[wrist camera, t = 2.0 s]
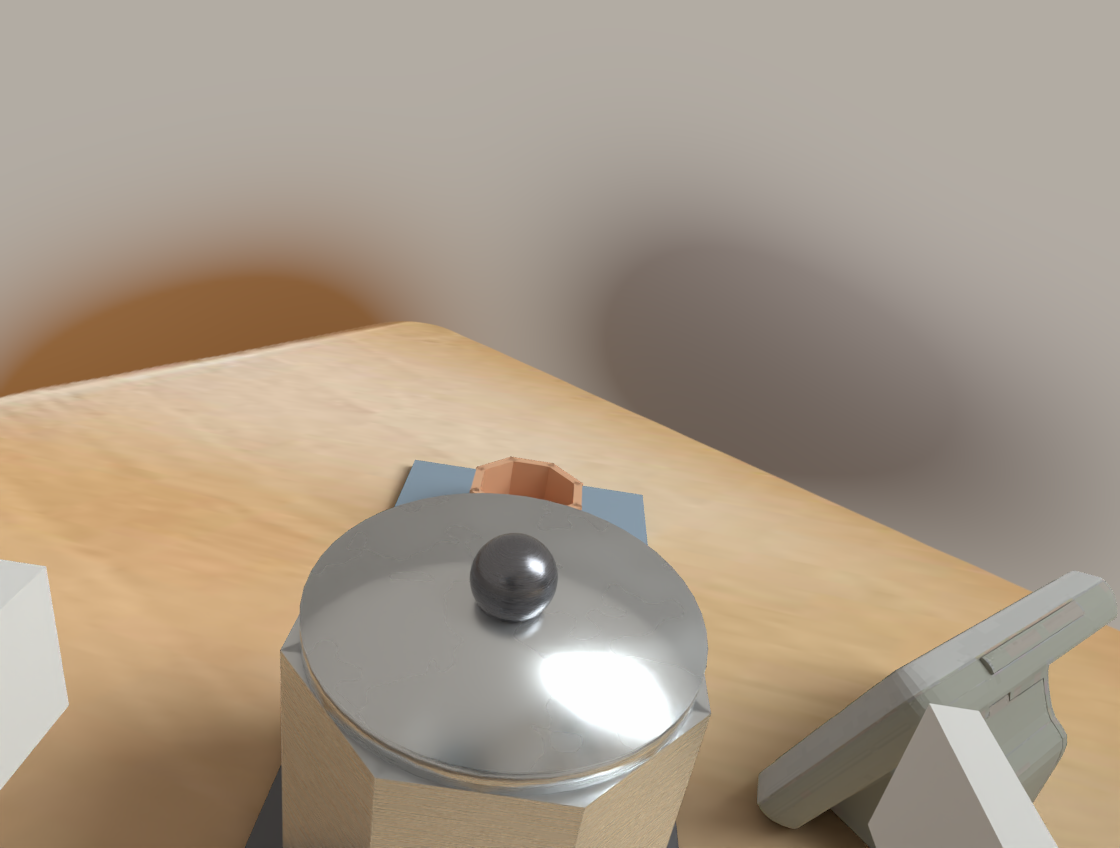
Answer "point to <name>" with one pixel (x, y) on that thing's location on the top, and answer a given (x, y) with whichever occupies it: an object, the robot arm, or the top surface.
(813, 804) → the digital clock
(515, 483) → the terracotta bowl
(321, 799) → the steel canister
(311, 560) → the top surface
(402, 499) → the blue board
